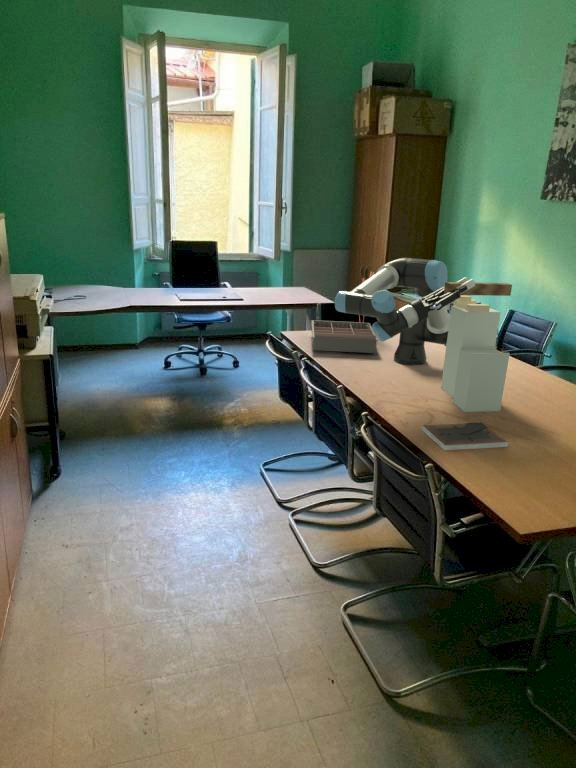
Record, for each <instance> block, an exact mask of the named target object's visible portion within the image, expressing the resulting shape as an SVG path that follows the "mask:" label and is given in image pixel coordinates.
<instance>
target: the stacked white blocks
mask: <svg viewBox="0 0 576 768" xmlns="http://www.w3.org/2000/svg"><path fill="white" fill-rule="evenodd" d="M460 296H461V297H460V298H458V299H456V300H455V301H453V303H454V305H453V306H452V307H451V314H450V322H449V329H448V337H447V345H446V346H445V354H444V362H443V368H442V370H443V371H442V374H441V375H442V376H441V383H440V388H441V390H442V391H444V392H445V393H446V394H448V395H449V396H451V397H452V398H453V396H454V389H455V382H456V374H457V367H458V360H459V353H460V347H476V346H495V347H496V344H497V343H496V342H497V336H498V331H499V324H500V319H501V311H499V310H496V309H494V308H491V305H489V304H487V303H481V304H476V303H477V300H476V299H473V298H472V296H471V295H460Z"/></svg>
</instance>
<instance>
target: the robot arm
mask: <svg viewBox="0 0 576 768" xmlns="http://www.w3.org/2000/svg"><path fill="white" fill-rule="evenodd" d="M447 268H448V267H447V265H446V264H445V263H444V262H443V261H441V260H436V259H424V258H412V257H401V258H397V259H394V260H391V261H388V262H386V263H385V264H383V265H382V266H380V267H379V268H378V269H377V271H376V273H374V275H373V276H372V277H370V276H369V277H370V278H367V279H365V280H366V281H364V282H363V283H362V282H361V283H362V284H361V283H360V284H359V285H357V286H356V287H354V288H353V289H352V290H350V291H347V290H339V291H338V292H337V294H336V296H335V298H334V309H335V310H336V311H337V312H340V313H344V314H348V315H349V314H350V315H358V316H359V315H360V316H362V317H363V316H364V317H371V318H376V320H377V321H375V322H374V323H372V325H371V327H372V329H373V331H374V333H375V335H376V337H377V339H378V341H379V342H386V341H388V340H389V339H393V338H394V337H395V336H398V335H399V341H398V345H397V347H396V349H395V352H394V354H393V360H394V362H397V363H399V364H404V365H410V366H411V365H412V366H417V365H418V366H420V365H425V364H426V363H427V354H426V348H425V342H426V343H431V344H438V345H447V337H448V329H449V322H450V314H449V311H448V310H447V309H448V308H447V306H448V305H450V303H452V302H453V303H454V301H455V300H456V299H458V298H460V297H461V296H460V294H462V293H463V292H465V291H467V290H469V289H470V288H472V287H474V286H475V283H476V282H475V281H474V278H471V279H469V280H468V278H467V277H466V276H465V277H462V279H460V280H457V281H456V282H465V283H463V284H462V285H460V286H458V287H456V289H455V290H453V291H451V292H448V293H446V294H445V293H444V288H445V282H448V278H449V277H448V272H449V271H448V269H447ZM395 287H399V288H408V289H414V290H415V293H416V294H417V295H418V296H419V297H420V298H421V299H419V298H417V299H414V300H413V301H411V302H410V303H409V304H406V305H404V306H402V307H400V308H399V309H397V305H396V301H395V299H394V296H393V295H394V294H392V292H391V291H389V290H390V289H394V288H395Z"/></svg>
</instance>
